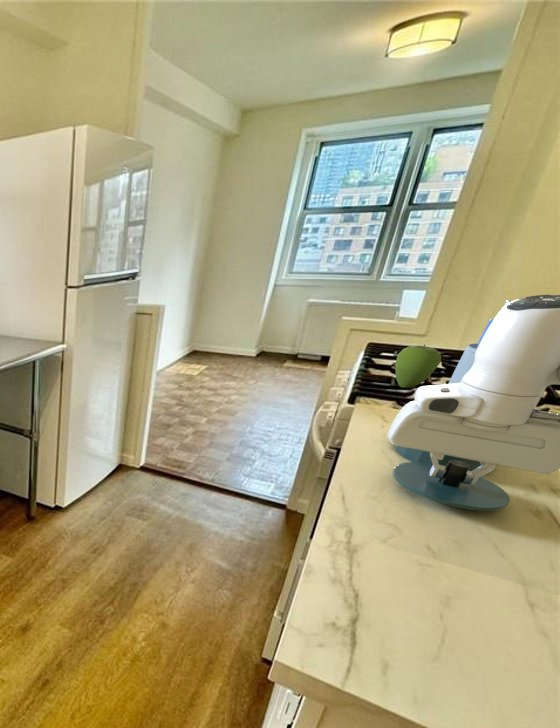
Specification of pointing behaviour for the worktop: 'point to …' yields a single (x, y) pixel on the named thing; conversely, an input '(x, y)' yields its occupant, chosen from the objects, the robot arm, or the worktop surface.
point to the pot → (425, 457)
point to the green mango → (416, 365)
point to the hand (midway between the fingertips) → (450, 479)
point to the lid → (451, 486)
